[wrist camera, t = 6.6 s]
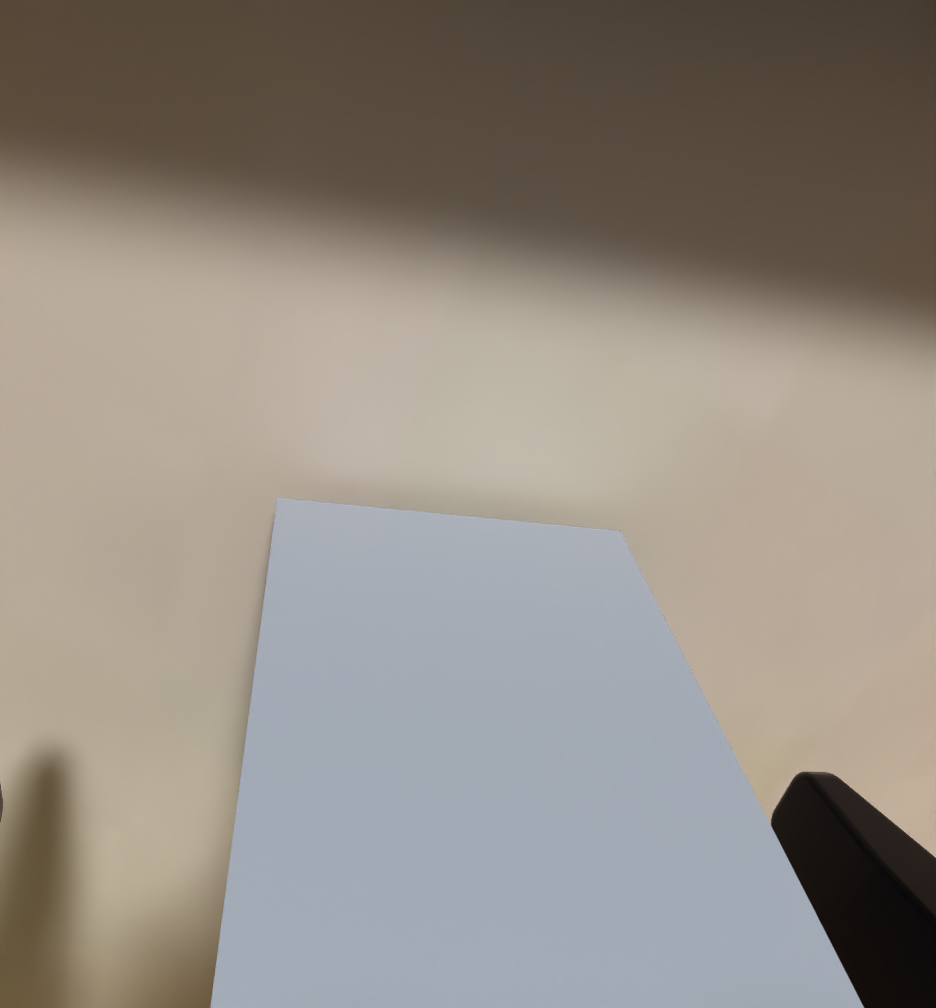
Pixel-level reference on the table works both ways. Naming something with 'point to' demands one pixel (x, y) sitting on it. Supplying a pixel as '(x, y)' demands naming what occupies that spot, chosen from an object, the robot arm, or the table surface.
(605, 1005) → the block
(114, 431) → the table surface
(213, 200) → the table surface
